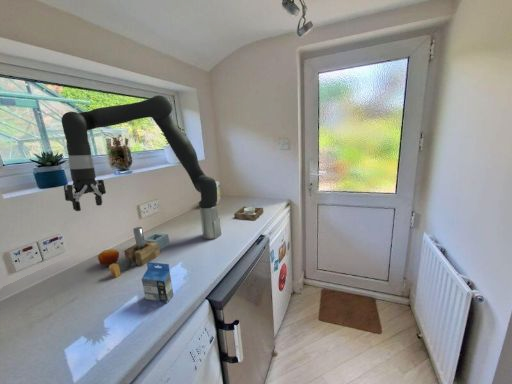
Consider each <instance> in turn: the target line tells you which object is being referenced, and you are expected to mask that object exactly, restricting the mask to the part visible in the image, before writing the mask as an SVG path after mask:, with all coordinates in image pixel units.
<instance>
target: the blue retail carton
mask: <svg viewBox="0 0 512 384" xmlns="http://www.w3.org/2000/svg"><path fill="white" fill-rule="evenodd" d="M146 265H147V269H146V271H145V272H144V274H143V275H142V277H141V283H142V288H143V292H144V298H145V300H146V301H154V302H162V303H167V302H168V301H169V300H170V299H172V298H173V297H174V290H173V283H172V278H171V271H170V266H169V265H170V264H169V263H159V262H152V261H149V262H147V263H146ZM170 301H171V300H170ZM170 301H169V302H170ZM169 302H168V303H169Z"/></svg>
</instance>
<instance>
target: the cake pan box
mask: <svg viewBox="0 0 512 384" xmlns="http://www.w3.org/2000/svg"><path fill="white" fill-rule="evenodd" d="M215 182H216V185H217V205H218V204H219V203H220V202H221V189H220V188H221V187H220V181H216V180H215Z"/></svg>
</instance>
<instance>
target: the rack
mask: <svg viewBox="0 0 512 384" xmlns="http://www.w3.org/2000/svg"><path fill="white" fill-rule="evenodd" d="M144 240H145V241H147V242H154V243H158V247H159V251H161V250H162V249H164V248H165V247H167V246H168V245H170V238H169V234H168V233H161V232H153V233H151V234H149V235H147V236H145V237H144Z"/></svg>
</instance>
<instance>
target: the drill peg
mask: <svg viewBox="0 0 512 384" xmlns="http://www.w3.org/2000/svg"><path fill="white" fill-rule="evenodd" d="M132 230H133V231H132V232H133V235H134V240H135V244H136V246H137V250H142V249H143V248H145V247H146V245H145V240H144V238H145V237H144V236H145V235H144V230H143V227H142V226H136V227H134V228H133V229H132Z"/></svg>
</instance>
